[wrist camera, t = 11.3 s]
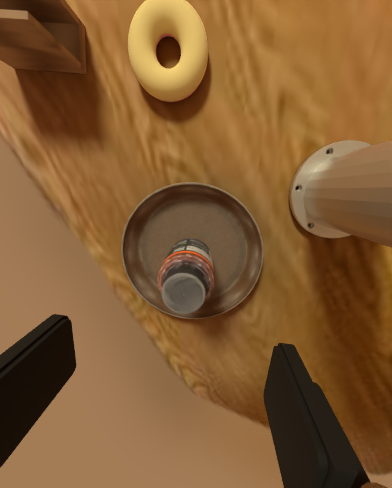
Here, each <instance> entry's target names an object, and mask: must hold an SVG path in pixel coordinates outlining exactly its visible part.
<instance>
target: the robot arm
mask: <svg viewBox="0 0 392 488" xmlns="http://www.w3.org/2000/svg"><path fill="white" fill-rule="evenodd" d="M326 151H327V152H328V153H327V154H326ZM296 186H297V187H298V189H297V190H295V188H296ZM289 202H290V208H291V211H292V214H293V216H294V218H295V220H296V221H297V223H298V224H299V225H300V226H301V227H302V228H304V229H305V230H306V231H308V232H310V233H312V234H314V235H317V236H320V237H323V238H342V237H346V236H350V235H354V236H357V237H360V238H363V239H367V240H370V241H373V242H376V243H379V244H382V245H385V246H389V247H392V140H390V141H387V142H383V143H379V144H376V145H370V144H368V143H366V142H361V141H356V140H345V141H340V142H335V143H332V144H330V145H327V146H325V147H323V148H321V149H319V150H317V151H316V152H314V153H313V154H312V155H310V156H309V157H308V158H307V159H306V160H305V161H304V162H303V163H302V164H301V166H300V167H299V169H298V170H297V172H296V174H295V176H294V178H293V180H292V183H291V187H290V193H289ZM308 223H309V226H307V225H308ZM75 368H76V358H75V350H74V341H73V333H72V324H71V321H70V320H69V318H68V317H67V316H64V315H56V314H54V315H52V316H50V317H49V318H47V319H46V320H45V321H44V322H42V323H41V324H40V325H38V326H37V327H36V328H35V329H33V330H32V331H31V332H29V333H28V334H27V335H26V336H24V337H23V338H22V339H20V340H19V341H18V342H16V343H15V344H14V345H13V346H11V347H10V348H9V349H7V350H6V351H5V352H3V353H2V354H1V355H0V467H1V466H2V465H3V464H4V463H5V461H6V460H7V459H8V457H9V456H10V455H11V454H12V452H13V451H14V450H15V448H16V447H17V446H18V444H19V443H20V442H21V441H22V439H23V438H24V437H25V435H26V434H27V433H28V431H29V430H30V429H31V428H32V426H33V425H34V424H35V422H36V421H37V420H38V418H39V417H40V416H41V414H42V413H43V412H44V411H45V409H46V408H47V407H48V406H49V404H50V403H51V402H52V400H53V399H54V398H55V396H56V395H57V394H58V393H59V391H60V390H61V389H62V387H63V386H64V385H65V383H66V382H67V381H68V380H69V378H70V377H71V376H72V374H73V372H74V371H75ZM264 403H265V407H266V411H267V416H268V420H269V424H270V429H271V433H272V437H273V442H274V445H275V450H276V455H277V459H278V463H279V467H280V472H281V476H282V481H283V485H284V488H387V487H385V486H383V485H380V484H378V483H372V482H370V480H369V478H368V476H367V474H366V472H365V471H364V469H363V467H362V465H361V463H360V461H359V459H358V457H357V455H356V454H355V452H354V450H353V448H352V446H351V444H350V442H349V440H348V438H347V437H346V435H345V433H344V431H343V429H342V427H341V425H340V423H339V422H338V420H337V418H336V416H335V414H334V412H333V410H332V408H331V406H330V405H329V403H328V401H327V399H326V397H325V395H324V393H323V391H322V390H321V388H320V386H319V385H318V384H317V383H314V382H313V381H312V379H311V377H310V375H309V373H308V371H307V369H306V367H305V366H304V364H303V362H302V360H301V358H300V356H299V354H298V352H297V350H296V348H295V346H294V345H292V344H284V343H279V344H278V346H274V348H273V353H272V357H271V362H270V366H269V371H268V375H267V380H266V384H265V389H264Z"/></svg>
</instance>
